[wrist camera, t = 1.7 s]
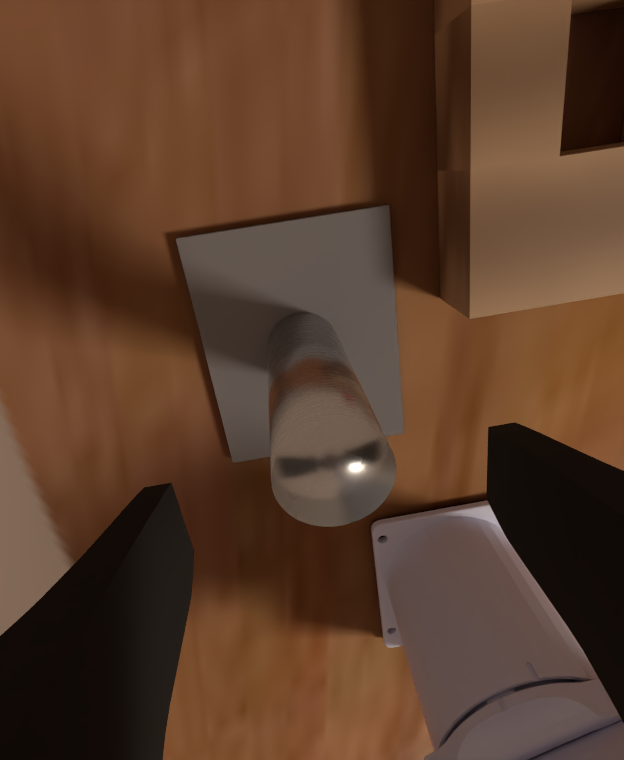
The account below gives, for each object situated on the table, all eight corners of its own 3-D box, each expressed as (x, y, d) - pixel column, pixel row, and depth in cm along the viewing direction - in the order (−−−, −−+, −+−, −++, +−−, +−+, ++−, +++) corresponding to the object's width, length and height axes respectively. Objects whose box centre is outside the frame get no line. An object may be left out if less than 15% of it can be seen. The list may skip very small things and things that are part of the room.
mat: (401, 428, 22) (403, 433, 21) (233, 457, 21) (232, 463, 21) (386, 204, 18) (389, 205, 17) (177, 237, 17) (175, 239, 17)
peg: (342, 373, 20) (399, 515, 12) (273, 385, 20) (282, 536, 12) (334, 306, 19) (392, 411, 10) (260, 318, 18) (260, 434, 10)
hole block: (669, 260, 20) (735, 274, 17) (440, 298, 19) (469, 318, 17) (757, -212, 14) (879, -308, 11) (429, -170, 13) (472, -257, 11)
